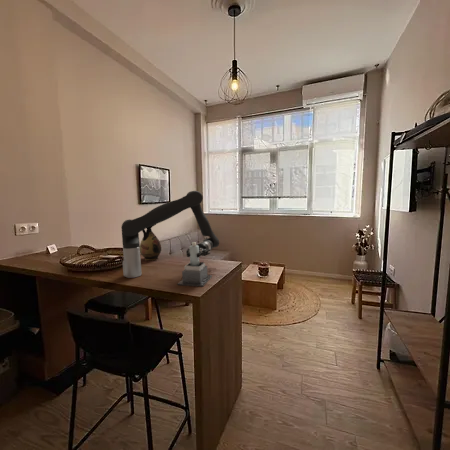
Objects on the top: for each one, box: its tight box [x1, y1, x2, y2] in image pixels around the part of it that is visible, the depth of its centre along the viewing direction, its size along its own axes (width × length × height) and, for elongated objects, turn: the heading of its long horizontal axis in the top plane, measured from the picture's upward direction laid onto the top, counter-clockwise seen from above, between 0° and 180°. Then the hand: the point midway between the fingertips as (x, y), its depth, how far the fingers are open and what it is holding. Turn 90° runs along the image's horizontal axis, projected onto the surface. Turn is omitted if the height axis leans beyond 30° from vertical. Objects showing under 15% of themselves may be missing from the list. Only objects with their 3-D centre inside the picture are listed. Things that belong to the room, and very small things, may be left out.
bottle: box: [189, 241, 200, 266], centre depth 135 cm, size 5×5×13 cm
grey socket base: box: [177, 261, 213, 288], centre depth 136 cm, size 14×16×9 cm
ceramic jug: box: [139, 224, 162, 261], centre depth 183 cm, size 17×15×30 cm
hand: (192, 255), depth 132 cm, fingers closed on bottle, 5 cm apart
